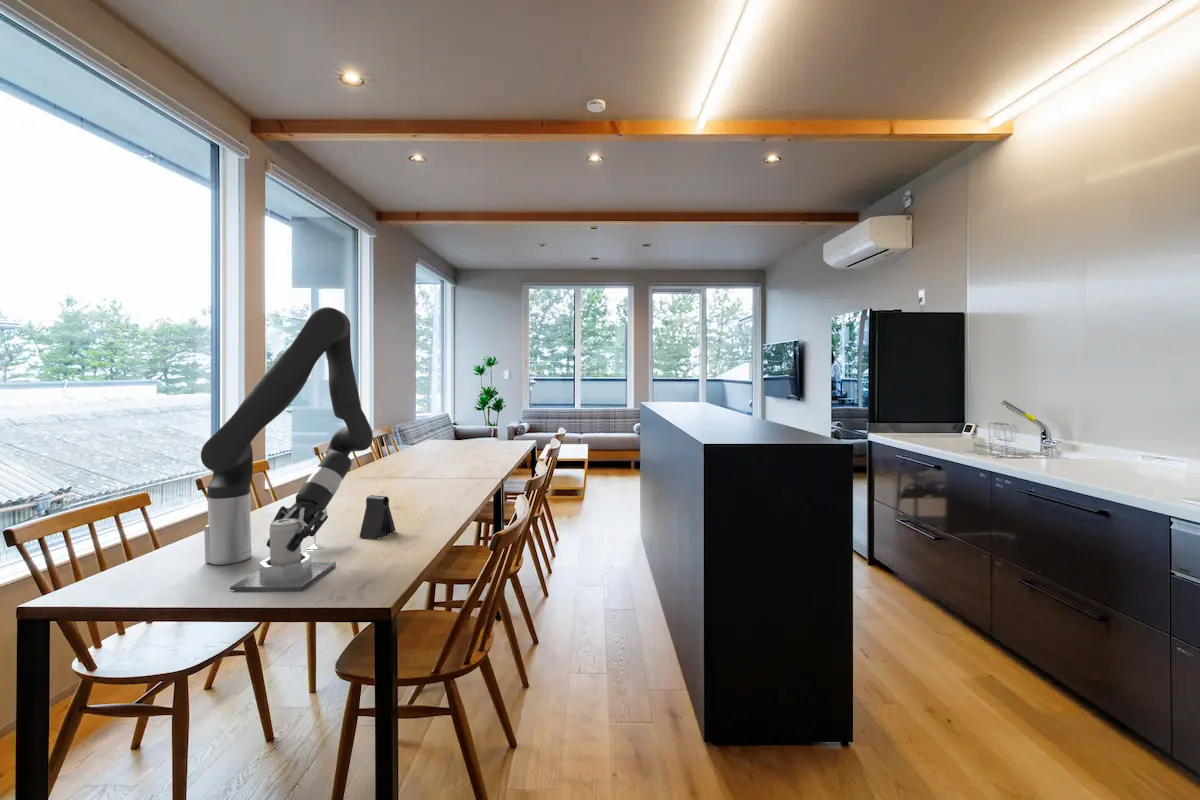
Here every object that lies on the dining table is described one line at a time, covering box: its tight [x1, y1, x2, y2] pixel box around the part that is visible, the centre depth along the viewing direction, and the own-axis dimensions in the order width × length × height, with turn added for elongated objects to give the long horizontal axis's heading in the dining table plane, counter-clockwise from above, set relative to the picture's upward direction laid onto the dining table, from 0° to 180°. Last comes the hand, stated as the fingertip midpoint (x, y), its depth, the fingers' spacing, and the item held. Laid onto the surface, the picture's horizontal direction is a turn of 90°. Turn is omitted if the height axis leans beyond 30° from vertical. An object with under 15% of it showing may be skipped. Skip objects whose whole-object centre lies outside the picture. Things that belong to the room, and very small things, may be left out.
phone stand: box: [359, 495, 397, 540], centre depth 164 cm, size 9×6×12 cm, turn 162°
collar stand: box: [229, 552, 337, 592], centre depth 129 cm, size 16×16×4 cm
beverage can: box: [269, 518, 302, 565], centre depth 129 cm, size 6×6×12 cm
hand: (279, 548), depth 127 cm, fingers closed on beverage can, 6 cm apart
